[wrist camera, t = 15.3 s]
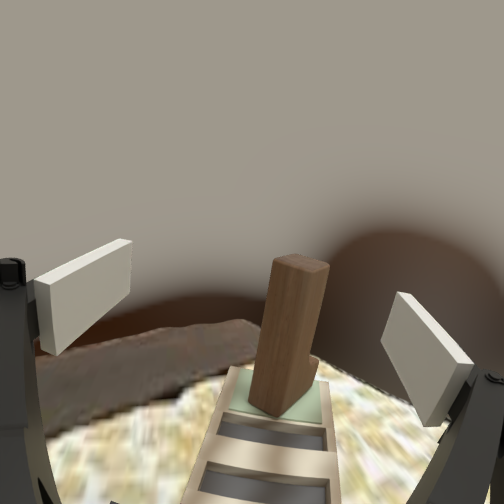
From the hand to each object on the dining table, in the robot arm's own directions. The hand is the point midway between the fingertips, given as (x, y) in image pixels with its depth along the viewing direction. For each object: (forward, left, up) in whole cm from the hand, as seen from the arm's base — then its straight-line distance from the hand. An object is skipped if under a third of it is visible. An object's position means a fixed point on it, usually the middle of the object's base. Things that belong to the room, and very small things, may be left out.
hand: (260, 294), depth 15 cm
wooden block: (+4, +19, -20) cm, 28 cm away
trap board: (+4, +12, -22) cm, 26 cm away
